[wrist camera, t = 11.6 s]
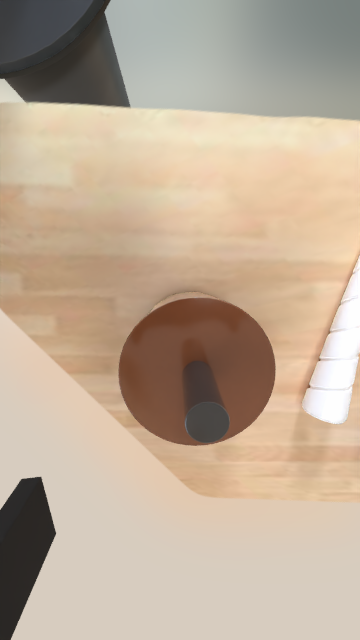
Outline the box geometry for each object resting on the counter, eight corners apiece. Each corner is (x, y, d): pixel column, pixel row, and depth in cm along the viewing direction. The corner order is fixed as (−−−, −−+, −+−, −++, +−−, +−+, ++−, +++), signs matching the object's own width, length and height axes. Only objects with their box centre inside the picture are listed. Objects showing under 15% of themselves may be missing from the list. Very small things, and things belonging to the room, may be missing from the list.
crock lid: (109, 305, 24) (74, 327, 16) (266, 286, 24) (317, 299, 16) (132, 445, 27) (114, 529, 18) (274, 429, 27) (321, 505, 18)
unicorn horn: (404, 229, 32) (444, 223, 27) (327, 411, 37) (350, 433, 32) (367, 217, 32) (400, 209, 27) (294, 402, 36) (312, 423, 32)
